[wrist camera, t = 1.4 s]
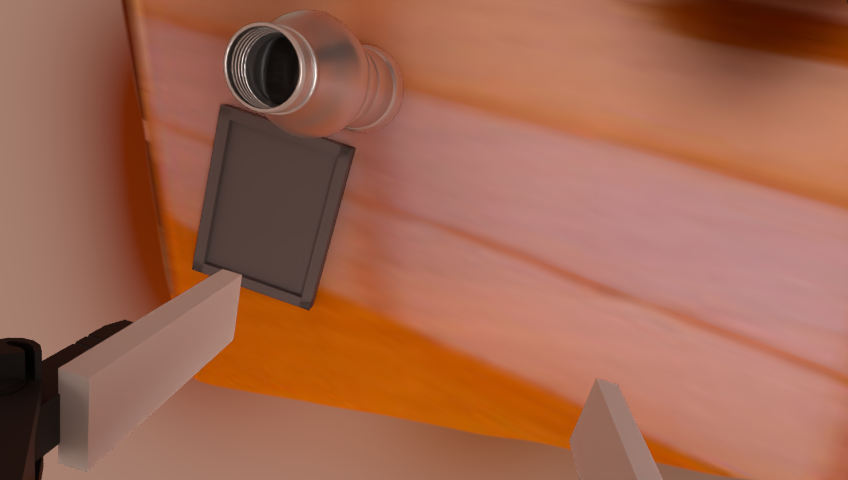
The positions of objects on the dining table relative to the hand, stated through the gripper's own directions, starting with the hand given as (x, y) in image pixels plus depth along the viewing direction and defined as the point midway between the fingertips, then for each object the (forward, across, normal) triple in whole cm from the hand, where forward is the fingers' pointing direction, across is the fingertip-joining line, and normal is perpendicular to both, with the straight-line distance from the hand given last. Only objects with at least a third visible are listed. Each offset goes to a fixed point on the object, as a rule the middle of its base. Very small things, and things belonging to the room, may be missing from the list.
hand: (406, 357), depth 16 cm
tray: (+25, -16, -5) cm, 30 cm away
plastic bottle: (+25, -10, +8) cm, 28 cm away
